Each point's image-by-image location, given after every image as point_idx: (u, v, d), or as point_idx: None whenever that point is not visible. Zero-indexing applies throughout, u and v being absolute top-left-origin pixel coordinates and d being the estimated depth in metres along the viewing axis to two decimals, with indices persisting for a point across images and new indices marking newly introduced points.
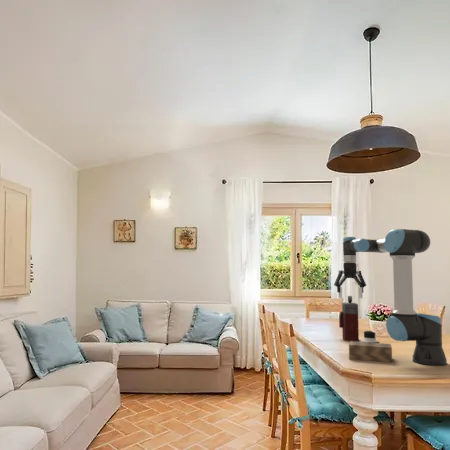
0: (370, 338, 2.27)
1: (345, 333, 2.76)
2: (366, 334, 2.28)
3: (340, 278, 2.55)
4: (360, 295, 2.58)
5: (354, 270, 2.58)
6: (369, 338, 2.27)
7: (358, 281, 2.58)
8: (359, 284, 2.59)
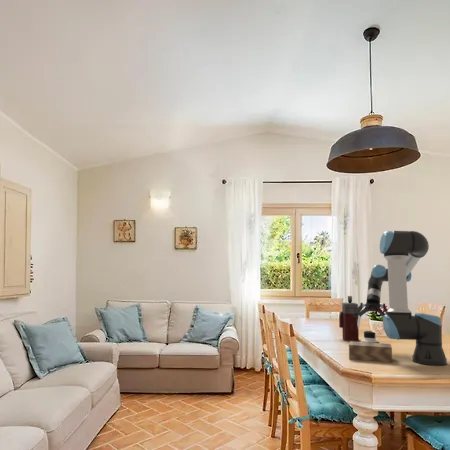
0: (370, 338, 2.27)
1: (345, 333, 2.76)
2: (366, 334, 2.28)
3: (359, 308, 2.49)
4: None
5: (377, 303, 2.49)
6: (369, 338, 2.27)
7: (381, 312, 2.43)
8: (383, 315, 2.42)
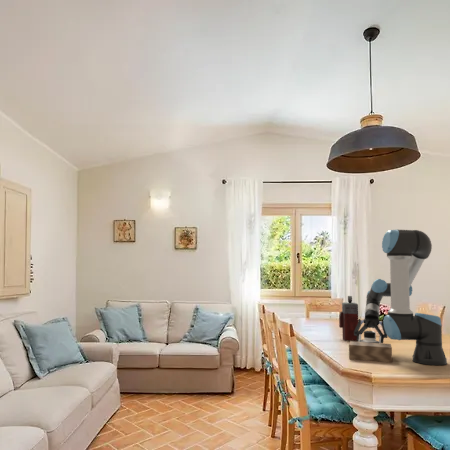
0: (370, 338, 2.27)
1: (345, 333, 2.76)
2: (366, 334, 2.28)
3: (358, 326, 2.37)
4: None
5: (376, 319, 2.38)
6: (369, 338, 2.27)
7: (378, 329, 2.32)
8: (379, 333, 2.31)
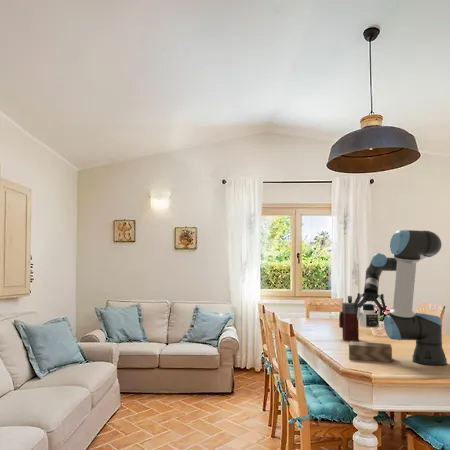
0: (369, 310, 2.27)
1: (345, 333, 2.76)
2: (365, 306, 2.28)
3: (357, 299, 2.37)
4: (378, 316, 2.25)
5: (375, 292, 2.37)
6: (368, 310, 2.27)
7: (376, 302, 2.32)
8: (378, 306, 2.30)
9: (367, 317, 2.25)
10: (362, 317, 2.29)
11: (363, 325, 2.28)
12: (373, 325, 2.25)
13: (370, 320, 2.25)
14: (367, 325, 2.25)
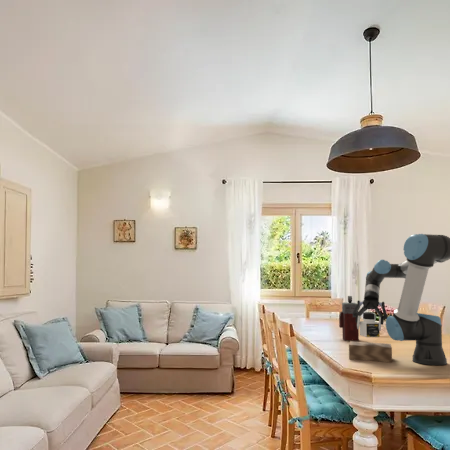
0: (369, 319, 2.17)
1: (345, 333, 2.76)
2: (365, 315, 2.18)
3: (357, 307, 2.27)
4: None
5: (376, 300, 2.27)
6: (368, 319, 2.17)
7: (377, 310, 2.22)
8: (379, 315, 2.20)
9: (367, 326, 2.15)
10: (363, 326, 2.19)
11: (363, 334, 2.18)
12: (374, 334, 2.15)
13: (371, 329, 2.15)
14: (368, 335, 2.15)
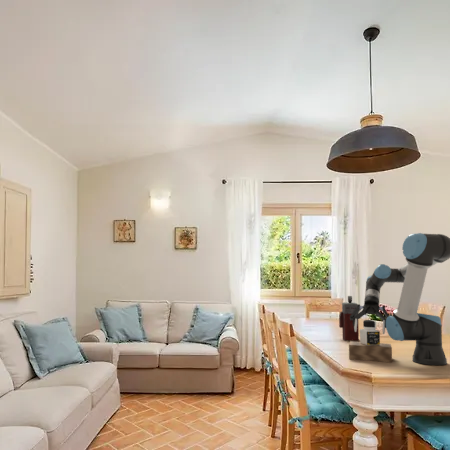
0: (370, 327, 2.16)
1: (345, 333, 2.76)
2: (365, 323, 2.17)
3: (356, 311, 2.27)
4: None
5: (375, 305, 2.27)
6: (369, 327, 2.16)
7: (380, 314, 2.21)
8: (382, 318, 2.20)
9: (368, 334, 2.15)
10: (363, 334, 2.18)
11: (363, 342, 2.17)
12: (374, 342, 2.15)
13: (371, 337, 2.15)
14: (368, 343, 2.14)
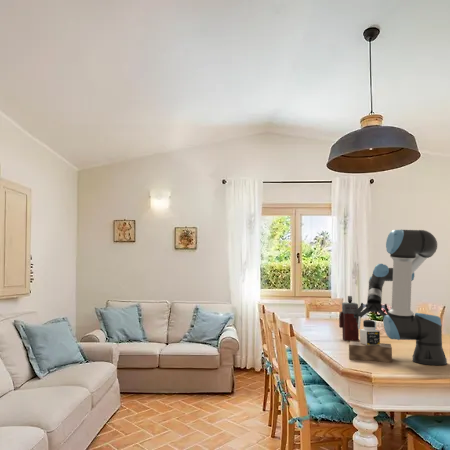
0: (370, 327, 2.16)
1: (345, 333, 2.76)
2: (365, 323, 2.17)
3: (359, 309, 2.39)
4: None
5: (378, 303, 2.39)
6: (369, 327, 2.16)
7: (382, 312, 2.33)
8: None
9: (368, 334, 2.15)
10: (363, 334, 2.18)
11: (363, 342, 2.17)
12: (374, 342, 2.15)
13: (371, 337, 2.15)
14: (368, 343, 2.14)
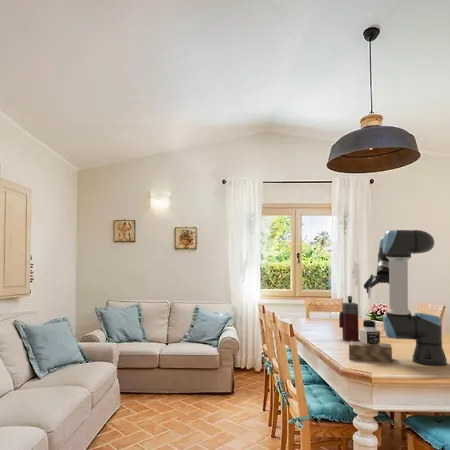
0: (370, 327, 2.16)
1: (345, 333, 2.76)
2: (365, 323, 2.18)
3: (369, 280, 2.47)
4: None
5: (387, 274, 2.47)
6: (369, 327, 2.16)
7: None
8: None
9: (368, 334, 2.15)
10: (363, 334, 2.18)
11: (363, 342, 2.17)
12: (374, 342, 2.15)
13: (371, 337, 2.15)
14: (368, 343, 2.14)
